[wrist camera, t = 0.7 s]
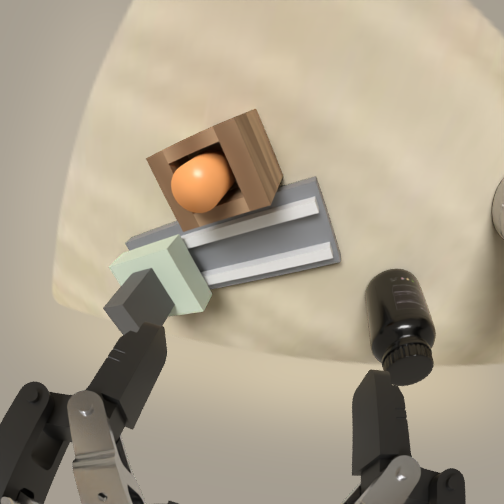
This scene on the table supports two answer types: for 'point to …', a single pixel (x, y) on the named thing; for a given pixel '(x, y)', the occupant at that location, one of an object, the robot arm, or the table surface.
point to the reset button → (202, 181)
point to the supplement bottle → (400, 326)
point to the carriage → (156, 285)
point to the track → (259, 238)
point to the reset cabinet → (240, 160)
